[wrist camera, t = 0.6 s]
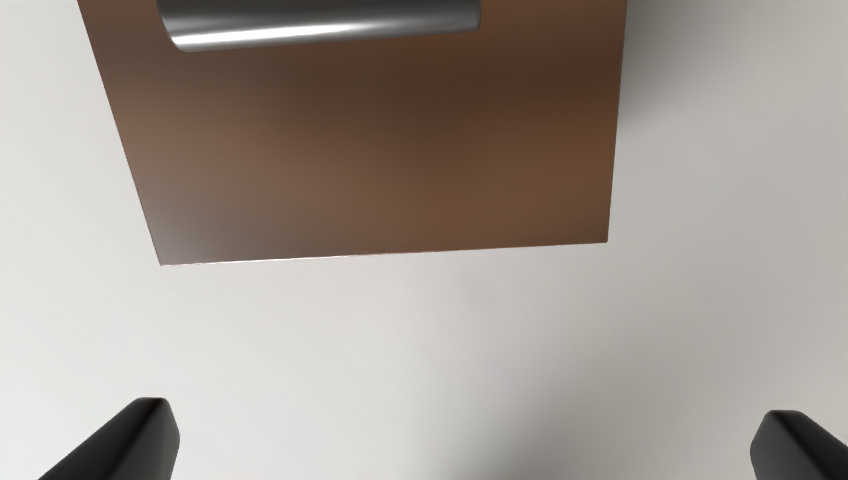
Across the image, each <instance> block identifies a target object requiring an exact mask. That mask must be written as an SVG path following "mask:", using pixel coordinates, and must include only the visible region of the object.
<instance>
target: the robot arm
mask: <svg viewBox="0 0 848 480" xmlns="http://www.w3.org/2000/svg"><path fill="white" fill-rule="evenodd" d="M179 444H180V434H179V430H178V427H177V424H176V421H175V418H174V416H173V413H172V410H171V407H170V404H169V402H168V401H167V400H166V399H165V398H152V397H142V398H138V399H136V400H134V401H133V402H131V403H130V404H129V405H128V406H126V407H125V408H124V409H123V410H122V411H120V412H119V413H118V414H117V415H116V416H114V417H113V418H112V419H111V420H109V421H108V422H107V423H106V424H105V425H103V426H102V427H101V428H100V429H99V430H97V431H96V432H95V433H94V434H92V435H91V436H90V437H89V438H88V439H86V440H85V441H84V442H83V443H82V444H80V445H79V446H78V447H77V448H76V449H74V450H73V451H72V452H71V453H69V454H68V455H67V456H66V457H65V458H63V459H62V460H61V461H60V462H59V463H57V464H56V465H55V466H54V467H52V468H51V469H50V470H49V471H48V472H46V473H45V474H44V475H43V476H42V477H40V478H39V479H38V480H170V479H171V475H172V471H173V468H174V464H175V460H176V457H177V453H178V449H179ZM750 456H751V461H752V465H753V468H754V471H755V474H756V478H757V480H848V447H847V446H846V445H845V444H843V443H842V442H841V441H839V440H838V439H837V438H835V437H834V436H833V435H831V434H830V433H829V432H827V431H826V430H825V429H823V428H822V427H821V426H820V425H818V424H817V423H816V422H814V421H813V420H812V419H810V418H809V417H808V416H806V415H805V414H803V413H801V412H799V411H795V410H771V411H769V412H768V413H767V414H766V415H765V417H764V419H763V421H762V423H761V425H760V427H759V429H758V431H757V433H756V435H755V437H754V439H753V441H752V443H751V448H750Z"/></svg>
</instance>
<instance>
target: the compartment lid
mask: <svg viewBox="0 0 848 480" xmlns="http://www.w3.org/2000/svg"><path fill="white" fill-rule="evenodd" d="M77 2H78V5H79V8H80V11H81V14H82V18H83V21H84V24H85V27H86V30H87V34H88V37H89V40H90V43H91V46H92V50H93V53H94V56H95V59H96V62H97V65H98V69H99V72H100V75H101V78H102V81H103V85H104V88H105V91H106V94H107V97H108V101H109V104H110V107H111V110H112V113H113V116H114V120H115V123H116V126H117V129H118V132H119V136H120V139H121V142H122V145H123V148H124V152H125V155H126V158H127V161H128V164H129V167H130V171H131V174H132V177H133V180H134V183H135V187H136V190H137V193H138V196H139V199H140V203H141V206H142V209H143V212H144V215H145V219H146V222H147V225H148V228H149V231H150V234H151V238H152V241H153V244H154V247H155V250H156V254H157V257H158V260H159V263H160V265H161V266H173V265H192V264H211V263H230V262H249V261H268V260H287V259H306V258H325V257H344V256H363V255H382V254H401V253H420V252H439V251H458V250H477V249H496V248H515V247H534V246H553V245H572V244H591V243H606V242H607V241H608V230H609V218H610V205H611V193H612V181H613V168H614V156H615V144H616V131H617V119H618V107H619V95H620V82H621V70H622V58H623V45H624V33H625V21H626V8H627V0H77Z"/></svg>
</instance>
